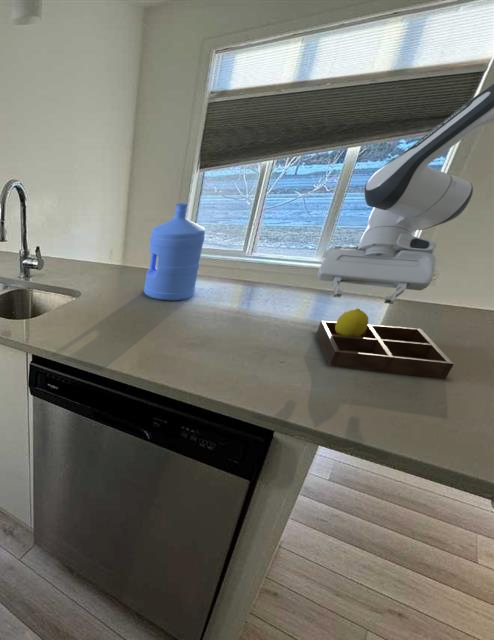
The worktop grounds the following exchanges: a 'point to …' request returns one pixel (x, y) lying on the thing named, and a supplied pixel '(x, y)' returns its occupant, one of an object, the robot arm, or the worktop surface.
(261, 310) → the worktop surface
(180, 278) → the water jug
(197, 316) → the worktop surface
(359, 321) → the lemon
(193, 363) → the worktop surface
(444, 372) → the grid
